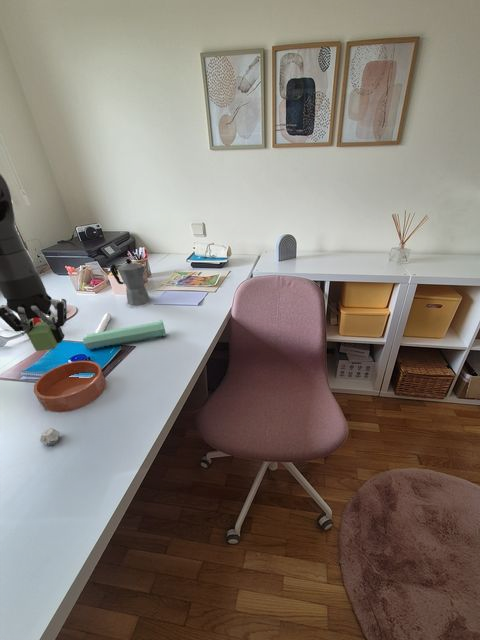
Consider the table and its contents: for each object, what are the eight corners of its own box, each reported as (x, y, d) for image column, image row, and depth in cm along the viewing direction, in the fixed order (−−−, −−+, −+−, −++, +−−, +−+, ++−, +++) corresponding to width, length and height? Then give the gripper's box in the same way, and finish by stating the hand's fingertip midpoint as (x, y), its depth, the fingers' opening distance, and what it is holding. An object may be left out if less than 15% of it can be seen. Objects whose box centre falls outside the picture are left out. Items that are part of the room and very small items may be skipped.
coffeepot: (158, 297, 131) (148, 255, 121) (148, 306, 123) (137, 263, 113) (125, 295, 133) (113, 254, 123) (113, 305, 125) (100, 262, 115)
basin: (31, 416, 72) (22, 403, 70) (53, 377, 85) (46, 365, 82) (99, 406, 75) (93, 392, 72) (111, 369, 87) (106, 357, 85)
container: (78, 335, 92) (161, 320, 99) (83, 333, 98) (162, 319, 104) (83, 353, 94) (165, 337, 100) (88, 350, 99) (166, 335, 105)
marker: (107, 316, 116) (105, 310, 115) (112, 315, 117) (111, 310, 115) (94, 339, 102) (92, 333, 100) (101, 339, 102) (98, 333, 101)
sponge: (36, 351, 69) (27, 334, 67) (45, 338, 74) (37, 322, 72) (55, 348, 70) (47, 332, 68) (63, 335, 75) (56, 320, 72)
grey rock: (65, 434, 68) (59, 425, 66) (56, 447, 65) (50, 438, 63) (49, 434, 68) (43, 425, 66) (39, 448, 64) (33, 439, 63)
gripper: (58, 264, 67) (85, 331, 76) (-14, 270, 64) (23, 338, 74) (46, 275, 61) (77, 346, 70) (-34, 283, 58) (9, 355, 68)
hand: (49, 342), depth 72 cm, fingers closed on sponge, 4 cm apart
